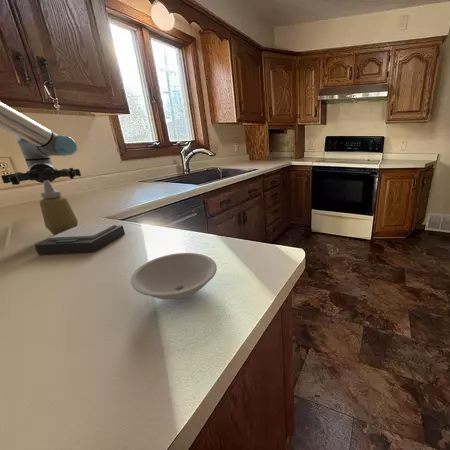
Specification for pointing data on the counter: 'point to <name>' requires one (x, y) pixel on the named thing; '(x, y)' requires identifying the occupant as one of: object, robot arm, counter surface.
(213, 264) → the dish
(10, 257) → the counter surface
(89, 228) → the kitchen scale
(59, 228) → the squeeze bottle
